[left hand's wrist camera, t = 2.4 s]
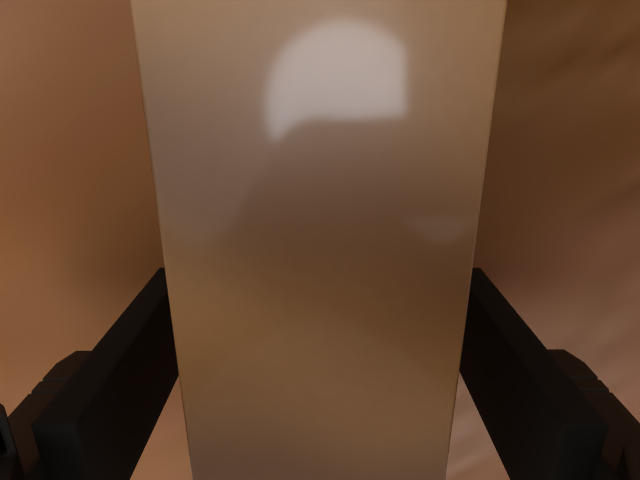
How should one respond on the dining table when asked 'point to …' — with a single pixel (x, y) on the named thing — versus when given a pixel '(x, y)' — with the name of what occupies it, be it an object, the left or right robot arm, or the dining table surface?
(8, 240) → the dining table surface
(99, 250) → the dining table surface
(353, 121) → the bar
